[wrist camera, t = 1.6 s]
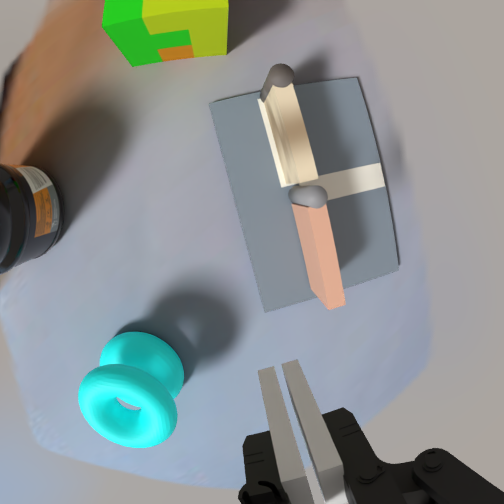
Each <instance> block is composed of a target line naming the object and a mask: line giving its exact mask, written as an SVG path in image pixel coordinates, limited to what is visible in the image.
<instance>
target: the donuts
mask: <svg viewBox="0 0 504 504" xmlns="http://www.w3.org/2000/svg"><path fill="white" fill-rule="evenodd" d="M183 382H184V370H183V366H182V363H181V360H180V358H179V357H178V355H177V354H176V352H175V351H174V350H173V349H172V348H171V347H170V346H169V345H168V344H167V343H166V342H164V341H163V340H161V339H160V338H158V337H156V336H154V335H151V334H148V333H143V332H126V333H122V334H119V335H117V336H115V337H114V338H112V339H111V340H110V341H109V342H108V343H107V344H106V345H105V347H104V349H103V351H102V353H101V357H100V367H97V368H95V369H93V370H92V371H90V372H89V373H88V374H87V375H86V376H85V377H84V379H83V380H82V382H81V384H80V387H79V393H78V399H79V405H80V408H81V411H82V413H83V415H84V417H85V419H86V420H87V421H88V423H89V424H90V425H91V426H92V427H93V428H94V429H95V430H96V431H97V432H98V433H99V434H101V435H102V436H104V437H105V438H107V439H108V440H110V441H112V442H115V443H117V444H120V445H123V446H127V447H133V448H146V447H152V446H155V445H158V444H160V443H162V442H163V441H165V440H166V439H167V438H169V437H170V435H171V434H172V433H173V431H174V429H175V427H176V423H177V408H176V404H175V402H174V400H173V399H174V398H175V397H176V396H177V395H178V394H179V392H180V390H181V388H182V386H183ZM116 397H118V398H120V399H121V400H123V401H125V402H127V403H129V404H131V405H134V406H138V407H141V409H139V410H130V409H127V408H125V407H123V406H122V405H121V404H120V403H119V402H118V401H117V399H116Z"/></svg>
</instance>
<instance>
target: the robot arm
mask: <svg viewBox="0 0 504 504" xmlns="http://www.w3.org/2000/svg"><path fill="white" fill-rule="evenodd" d="M282 368H283V372H284V376H285V379H286V383H287V387H288V390H289V394H290V398H291V402H292V405H293V409H294V412H295V415H296V418H297V421H298V424H299V427H300V430H301V433H302V436H303V439H304V442H305V445H306V448H307V451H308V454H309V457H310V460H311V463H312V466H313V469H314V472H315V475H316V478H317V481H318V484H319V487H320V490H321V493H322V496H323V499H324V502H325V504H344V503H347V500H348V503H349V504H504V492H503V491H501V490H500V489H498V488H497V487H495V486H494V485H493V484H491V483H489V482H488V481H487V480H486V479H484V478H483V477H482V476H480V475H479V474H477V473H476V472H475V471H473V470H472V469H470V468H469V467H468V466H466V465H465V464H464V463H462V462H461V461H459V460H458V459H457V458H456V457H454V456H453V455H451V454H450V453H449V452H447V451H445V450H443V449H439V448H432V449H428V450H425V451H424V452H422V453H420V454H419V455H418V456H417V457H416V458H415V461H411V462H405V463H400V464H390V463H386V462H383V461H381V460H380V459H379V458H378V457H377V456H376V455H375V453H374V451H373V449H372V448H371V446H370V444H369V442H368V440H367V439H366V437H365V435H364V433H363V431H362V430H361V428H360V426H359V424H358V423H357V421H356V419H355V417H354V415H353V414H352V413H351V412H349V411H348V410H346V409H345V408H340V409H337V410H334V411H331V412H328V413H325V414H322V415H321V413H320V410H319V408H318V406H317V403H316V401H315V399H314V397H313V394H312V392H311V390H310V387H309V385H308V383H307V380H306V378H305V376H304V374H303V371H302V369H301V367H300V364H299V362H298V360H294V361H290V362H287V363H283V364H282ZM258 375H259V380H260V385H261V390H262V395H263V400H264V404H265V409H266V414H267V419H268V424H269V428H270V431H266V432H262V433H257V434H253V435H249V436H246V439H245V441H244V444H243V456H244V464H245V475H246V484H245V485H244V486H243V487H242V488H241V490H240V491H239V495H238V499H239V500H240V502H241V504H314V501H313V497H312V494H311V490H310V487H309V483H308V480H307V477H306V473H305V470H304V467H303V463H302V460H301V457H300V453H299V450H298V447H297V443H296V440H295V437H294V433H293V430H292V427H291V423H290V420H289V417H288V413H287V410H286V406H285V403H284V400H283V396H282V393H281V389H280V386H279V383H278V379H277V376H276V372H275V369H274V366H273V367H269V368H266V369H262V370H258Z"/></svg>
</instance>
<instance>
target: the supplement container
mask: <svg viewBox="0 0 504 504" xmlns="http://www.w3.org/2000/svg"><path fill="white" fill-rule="evenodd" d="M63 219H64V204H63V198H62V194H61V192H60V189H59V187H58V185H57V183H56V181H55V180H54V178H53V177H52V176H51V175H50V174H49V173H48V172H47V171H45V170H44V169H42V168H40V167H37V166H32V165H24V166H22V165H5V164H0V275H1V274H4V273H6V272H8V271H9V270H11V269H12V268H13V267H16V266H18V265H20V264H22V263H24V262H27V261H29V260H31V259H35V258H38V257H40V256H42V255H44V254H45V253H46V252H48V251H49V250H50V249H51V248H52V247H53V245H54V244H55V242H56V241H57V239H58V237H59V235H60V232H61V229H62V225H63Z"/></svg>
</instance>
